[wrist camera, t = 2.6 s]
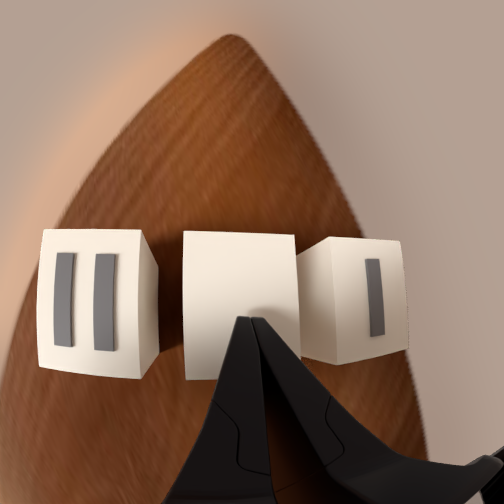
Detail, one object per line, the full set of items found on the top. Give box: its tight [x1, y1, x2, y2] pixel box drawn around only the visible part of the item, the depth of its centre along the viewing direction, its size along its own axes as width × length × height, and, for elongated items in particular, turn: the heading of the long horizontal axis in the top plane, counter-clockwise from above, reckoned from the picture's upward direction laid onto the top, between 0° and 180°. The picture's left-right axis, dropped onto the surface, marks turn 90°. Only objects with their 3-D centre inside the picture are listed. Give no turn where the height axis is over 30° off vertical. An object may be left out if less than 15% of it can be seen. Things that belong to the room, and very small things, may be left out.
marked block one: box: [296, 237, 409, 365], centre depth 14 cm, size 5×4×7 cm
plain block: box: [183, 231, 301, 380], centre depth 12 cm, size 5×4×7 cm
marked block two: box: [37, 229, 159, 379], centre depth 11 cm, size 5×4×7 cm
